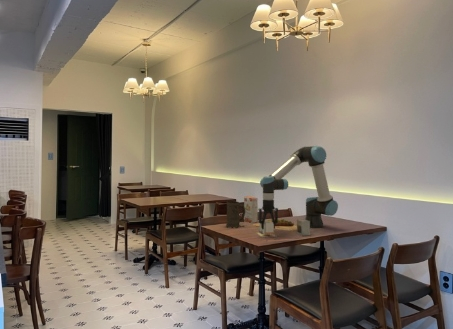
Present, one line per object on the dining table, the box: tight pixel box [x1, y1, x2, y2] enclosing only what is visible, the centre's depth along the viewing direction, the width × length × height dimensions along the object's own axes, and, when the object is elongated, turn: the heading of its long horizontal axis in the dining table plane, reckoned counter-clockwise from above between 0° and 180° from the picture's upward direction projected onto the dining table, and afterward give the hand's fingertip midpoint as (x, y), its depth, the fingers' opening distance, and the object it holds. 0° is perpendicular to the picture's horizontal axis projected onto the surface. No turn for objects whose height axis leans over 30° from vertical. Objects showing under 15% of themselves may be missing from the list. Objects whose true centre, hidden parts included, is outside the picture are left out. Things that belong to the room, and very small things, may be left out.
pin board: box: [254, 231, 278, 238], centre depth 248 cm, size 11×16×6 cm
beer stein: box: [225, 200, 245, 228], centre depth 285 cm, size 15×11×20 cm
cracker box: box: [243, 195, 259, 224], centre depth 307 cm, size 14×6×21 cm, turn 24°
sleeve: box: [264, 220, 275, 235], centre depth 244 cm, size 6×6×8 cm
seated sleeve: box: [258, 220, 267, 234], centre depth 253 cm, size 6×6×8 cm
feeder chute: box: [296, 218, 311, 237], centre depth 254 cm, size 6×8×10 cm
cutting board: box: [252, 217, 297, 232], centre depth 281 cm, size 35×23×8 cm
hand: (268, 233), depth 244 cm, fingers closed on sleeve, 6 cm apart
